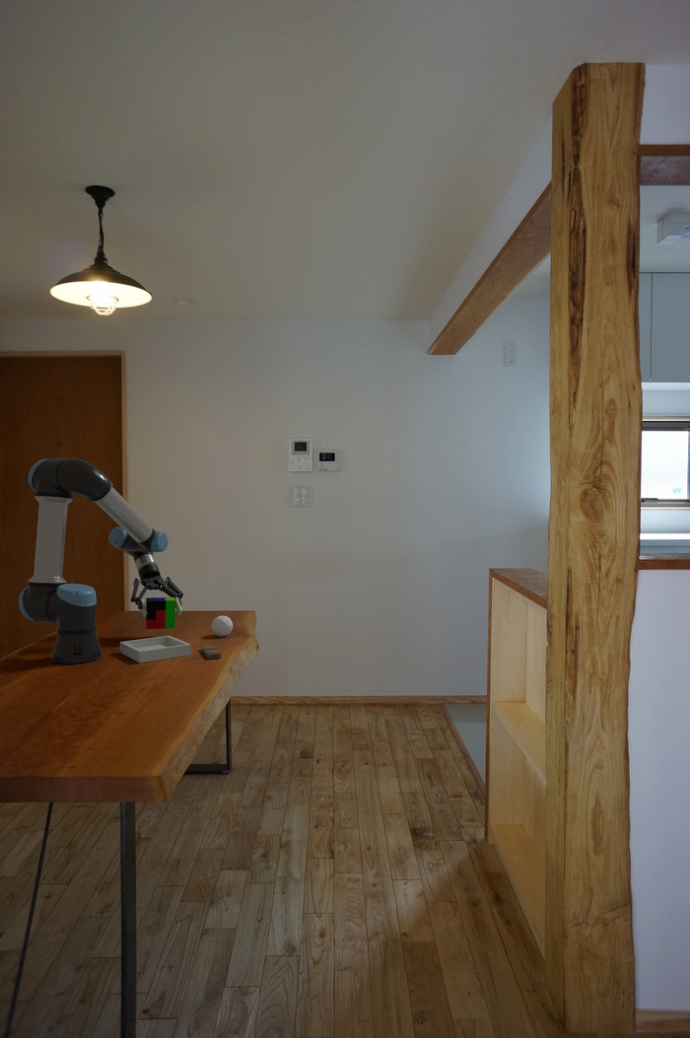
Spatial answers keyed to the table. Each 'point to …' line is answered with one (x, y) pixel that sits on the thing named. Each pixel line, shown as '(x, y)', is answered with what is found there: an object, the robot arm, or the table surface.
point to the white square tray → (155, 649)
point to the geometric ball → (222, 626)
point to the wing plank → (211, 652)
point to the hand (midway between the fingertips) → (163, 614)
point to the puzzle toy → (160, 613)
